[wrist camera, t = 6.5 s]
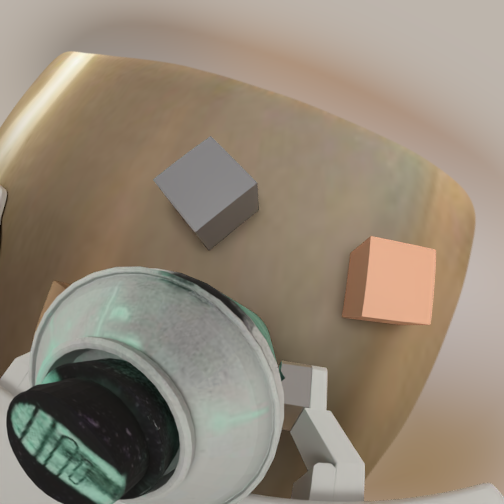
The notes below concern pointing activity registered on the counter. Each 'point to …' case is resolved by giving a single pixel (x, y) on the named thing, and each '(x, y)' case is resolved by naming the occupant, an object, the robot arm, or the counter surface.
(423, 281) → the terracotta block
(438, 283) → the counter surface
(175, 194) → the charcoal block
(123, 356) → the spray can
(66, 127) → the counter surface
